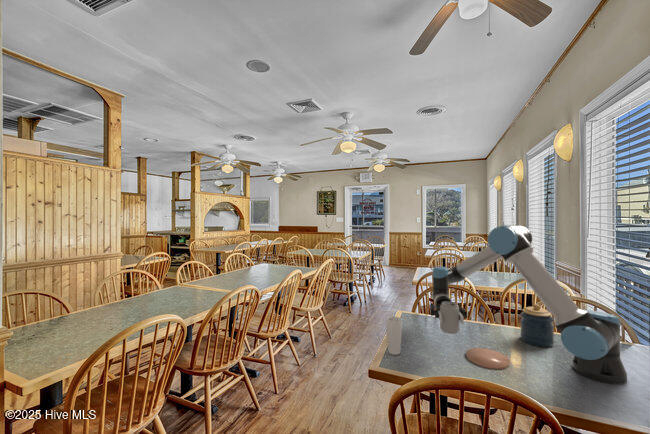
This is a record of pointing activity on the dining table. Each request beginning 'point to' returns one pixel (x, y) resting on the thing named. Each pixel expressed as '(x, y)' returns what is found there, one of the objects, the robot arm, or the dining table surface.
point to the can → (449, 317)
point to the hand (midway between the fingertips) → (451, 319)
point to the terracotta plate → (488, 358)
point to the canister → (537, 326)
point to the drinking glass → (394, 334)
